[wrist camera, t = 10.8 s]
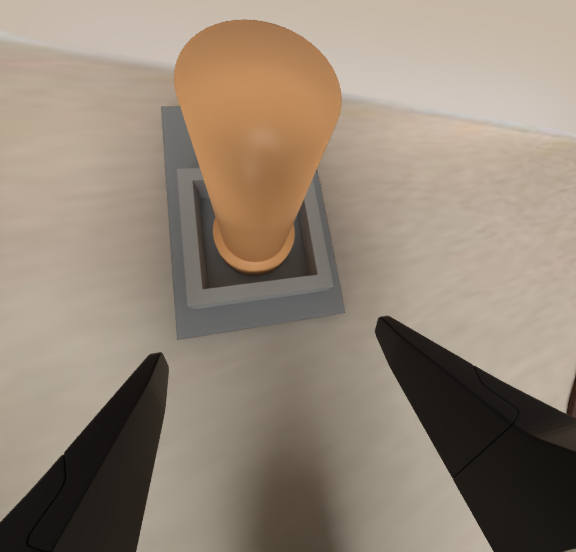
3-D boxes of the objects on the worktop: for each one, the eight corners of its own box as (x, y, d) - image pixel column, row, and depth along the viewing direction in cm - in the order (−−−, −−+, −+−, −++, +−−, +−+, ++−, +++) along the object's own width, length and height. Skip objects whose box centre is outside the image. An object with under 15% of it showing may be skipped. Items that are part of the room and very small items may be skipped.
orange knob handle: (304, 250, 20) (397, 122, 7) (244, 290, 18) (232, 218, 6) (263, 194, 20) (284, -17, 8) (201, 229, 19) (105, 40, 6)
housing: (340, 313, 20) (358, 311, 17) (181, 338, 18) (164, 342, 15) (302, 117, 24) (310, 80, 20) (165, 118, 22) (149, 77, 18)
